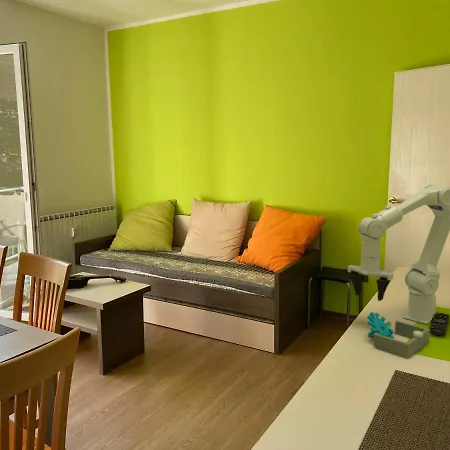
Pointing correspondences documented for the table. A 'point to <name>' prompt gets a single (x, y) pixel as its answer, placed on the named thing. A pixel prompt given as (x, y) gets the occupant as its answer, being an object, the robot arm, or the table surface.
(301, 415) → the table surface
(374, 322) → the gear
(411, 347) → the housing
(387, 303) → the table surface
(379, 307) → the table surface
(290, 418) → the table surface
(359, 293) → the robot arm
